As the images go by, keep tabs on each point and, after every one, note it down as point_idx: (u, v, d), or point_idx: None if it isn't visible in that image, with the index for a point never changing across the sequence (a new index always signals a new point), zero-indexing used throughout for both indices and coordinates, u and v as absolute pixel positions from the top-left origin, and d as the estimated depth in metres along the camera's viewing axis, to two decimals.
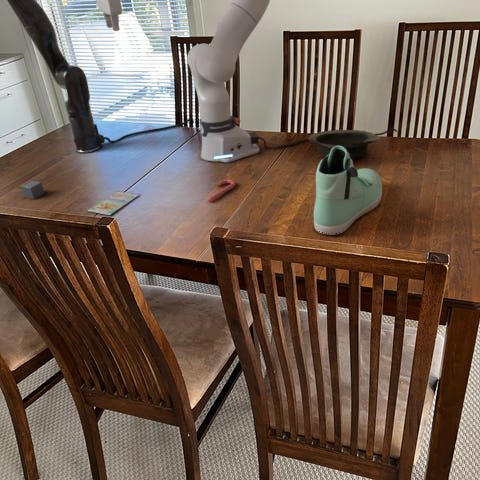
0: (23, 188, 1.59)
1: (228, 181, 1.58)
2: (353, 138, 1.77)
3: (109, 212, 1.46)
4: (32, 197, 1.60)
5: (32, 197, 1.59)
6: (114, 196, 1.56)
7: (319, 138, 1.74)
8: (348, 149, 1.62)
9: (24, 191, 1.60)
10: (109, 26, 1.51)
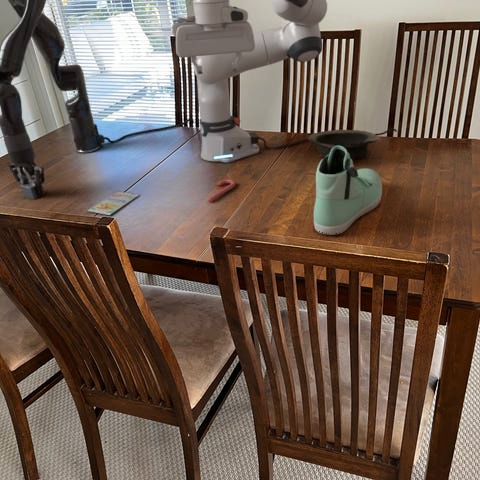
0: (23, 188, 1.59)
1: (228, 181, 1.58)
2: (353, 138, 1.77)
3: (109, 212, 1.46)
4: (32, 197, 1.60)
5: (32, 197, 1.59)
6: (114, 196, 1.56)
7: (319, 138, 1.74)
8: (348, 149, 1.62)
9: (24, 191, 1.60)
10: (232, 68, 1.27)
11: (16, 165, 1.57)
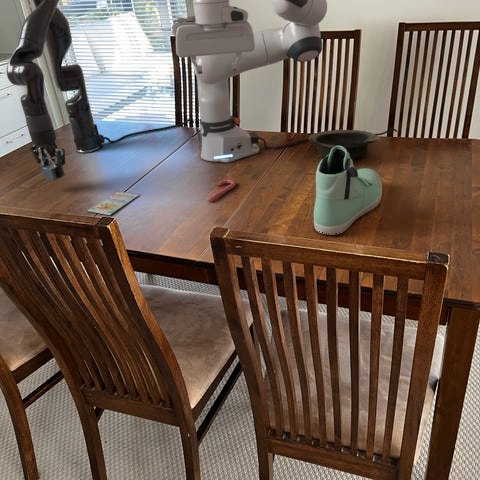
0: (44, 170, 1.59)
1: (228, 181, 1.58)
2: (353, 138, 1.77)
3: (109, 212, 1.46)
4: (52, 179, 1.59)
5: (53, 178, 1.59)
6: (114, 196, 1.56)
7: (319, 138, 1.74)
8: (348, 149, 1.62)
9: (44, 173, 1.60)
10: (232, 68, 1.27)
11: (37, 146, 1.57)
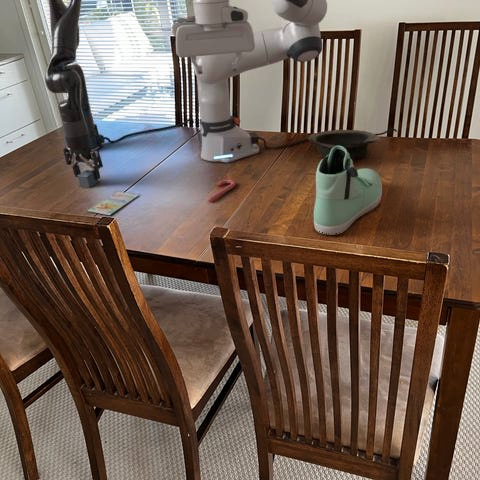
0: (79, 177, 1.64)
1: (228, 181, 1.58)
2: (353, 138, 1.77)
3: (109, 212, 1.46)
4: (88, 186, 1.64)
5: (88, 185, 1.64)
6: (114, 196, 1.56)
7: (319, 138, 1.74)
8: (348, 149, 1.62)
9: (80, 180, 1.65)
10: (232, 68, 1.27)
11: (72, 152, 1.61)
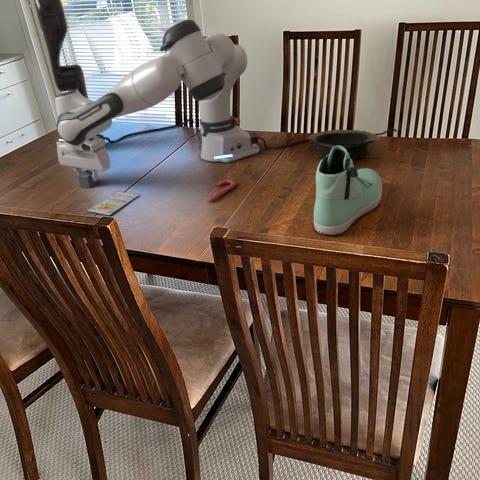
0: (79, 177, 1.64)
1: (228, 181, 1.58)
2: (353, 138, 1.77)
3: (109, 212, 1.46)
4: (88, 186, 1.64)
5: (88, 185, 1.64)
6: (114, 196, 1.56)
7: (319, 138, 1.74)
8: (348, 149, 1.62)
9: (80, 180, 1.65)
10: None
11: None
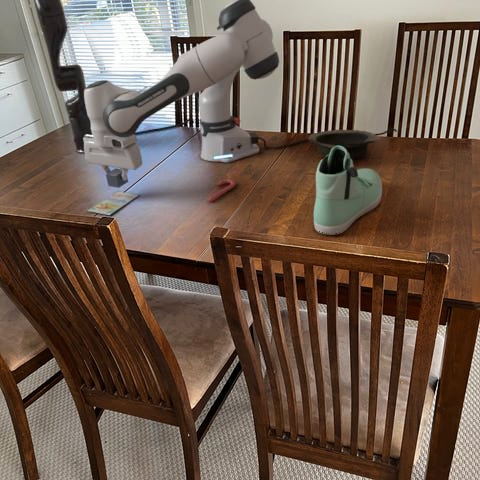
0: (107, 176, 1.50)
1: (228, 181, 1.58)
2: (353, 138, 1.77)
3: (109, 212, 1.46)
4: (117, 186, 1.51)
5: (117, 185, 1.50)
6: (114, 196, 1.56)
7: (319, 138, 1.74)
8: (348, 149, 1.62)
9: (108, 179, 1.51)
10: None
11: None
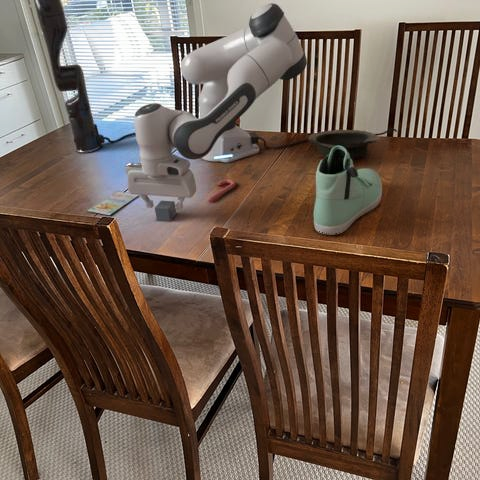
0: (157, 210, 1.39)
1: (228, 181, 1.58)
2: (353, 138, 1.77)
3: (109, 212, 1.46)
4: (168, 219, 1.40)
5: (168, 219, 1.40)
6: (114, 196, 1.56)
7: (319, 138, 1.74)
8: (348, 149, 1.62)
9: (157, 213, 1.40)
10: None
11: None
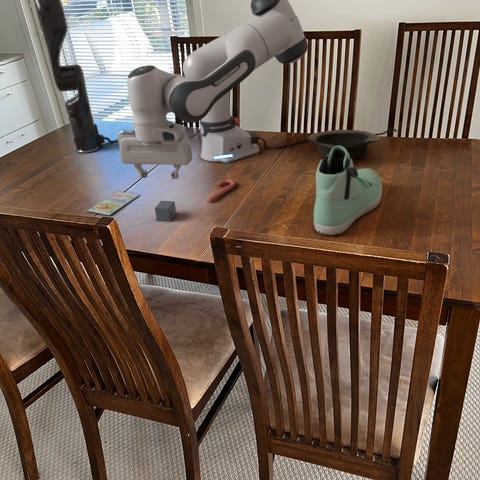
0: (157, 210, 1.39)
1: (228, 181, 1.58)
2: (353, 138, 1.77)
3: (109, 212, 1.46)
4: (168, 219, 1.40)
5: (168, 219, 1.40)
6: (114, 196, 1.56)
7: (319, 138, 1.74)
8: (348, 149, 1.62)
9: (157, 213, 1.40)
10: None
11: None
